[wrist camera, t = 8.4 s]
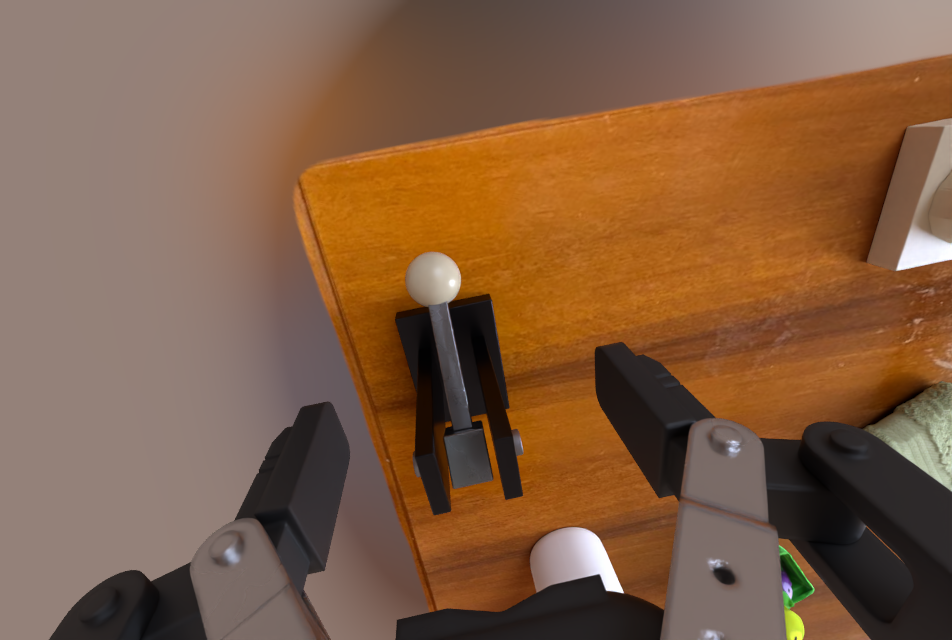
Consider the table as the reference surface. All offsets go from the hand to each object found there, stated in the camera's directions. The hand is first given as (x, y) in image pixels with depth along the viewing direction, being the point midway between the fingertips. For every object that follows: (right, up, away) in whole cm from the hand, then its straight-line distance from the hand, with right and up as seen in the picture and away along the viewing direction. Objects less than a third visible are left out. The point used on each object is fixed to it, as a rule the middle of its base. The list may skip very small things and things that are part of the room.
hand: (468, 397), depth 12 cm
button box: (+35, +12, +17) cm, 41 cm away
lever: (-1, 0, +12) cm, 12 cm away
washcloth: (+47, -12, +31) cm, 57 cm away
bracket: (-1, -1, +19) cm, 19 cm away
